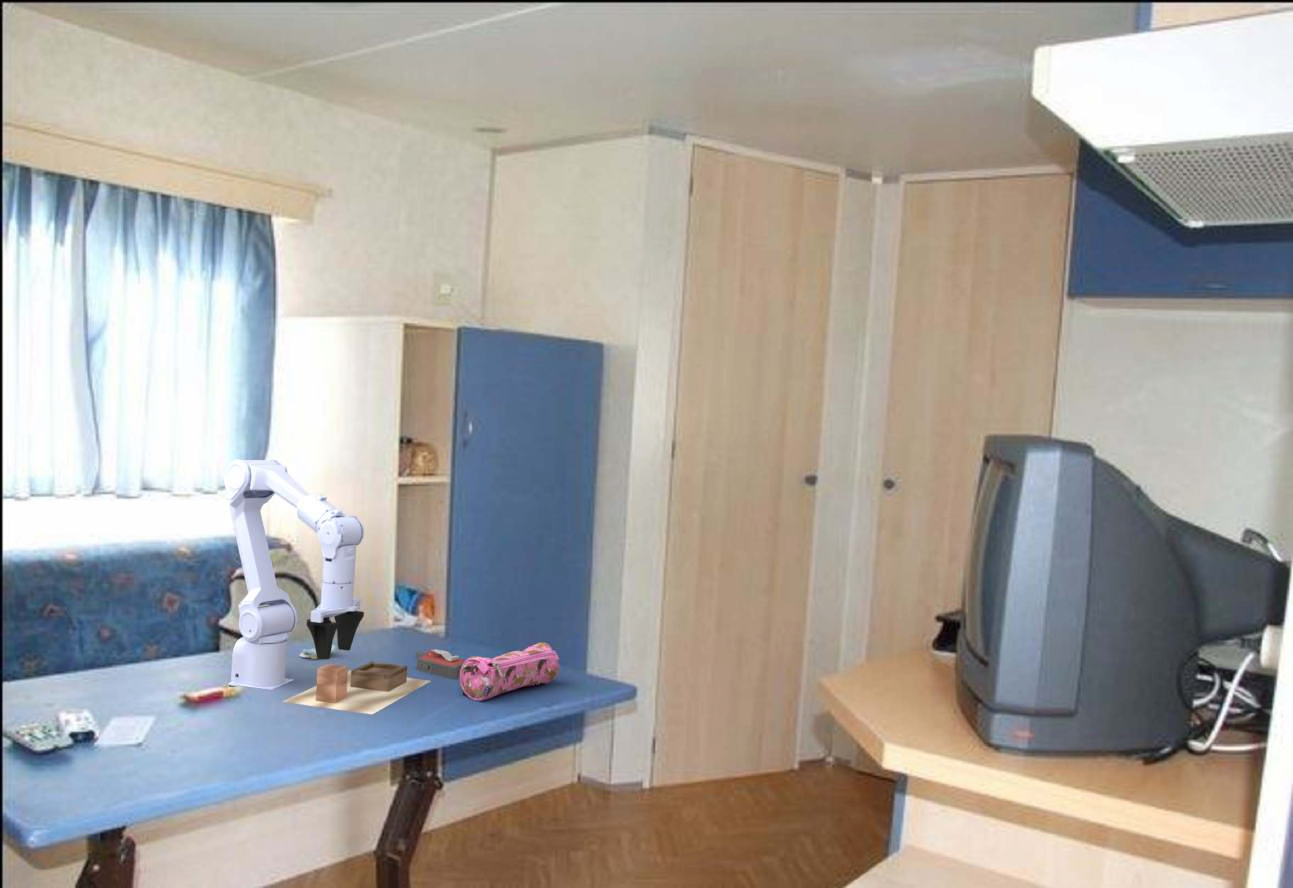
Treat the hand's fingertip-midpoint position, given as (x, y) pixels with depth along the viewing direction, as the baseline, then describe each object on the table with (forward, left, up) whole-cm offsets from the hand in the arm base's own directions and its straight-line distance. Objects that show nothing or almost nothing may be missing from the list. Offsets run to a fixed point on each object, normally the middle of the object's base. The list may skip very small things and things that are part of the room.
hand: (333, 653), depth 190 cm
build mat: (+2, +8, -9) cm, 12 cm away
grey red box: (+7, +32, -10) cm, 34 cm away
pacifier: (-20, +29, -10) cm, 37 cm away
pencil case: (+27, +22, -10) cm, 36 cm away
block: (0, 0, -8) cm, 8 cm away
